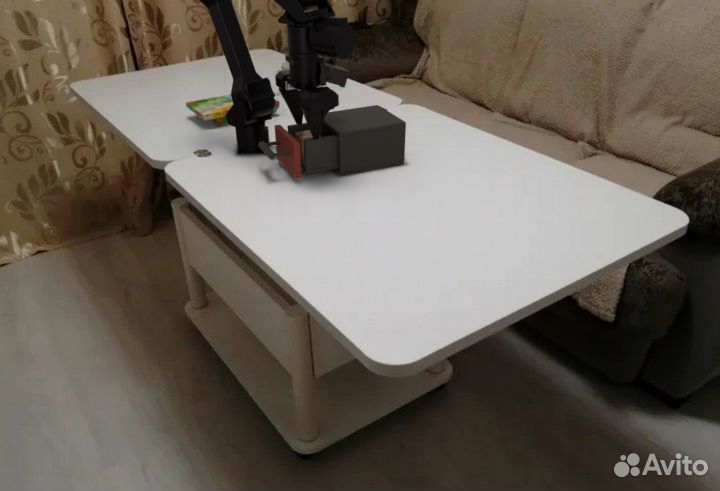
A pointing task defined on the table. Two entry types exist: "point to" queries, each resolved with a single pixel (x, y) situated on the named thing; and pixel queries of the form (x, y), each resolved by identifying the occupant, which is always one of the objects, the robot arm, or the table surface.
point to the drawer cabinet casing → (367, 139)
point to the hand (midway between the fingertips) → (307, 131)
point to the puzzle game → (216, 108)
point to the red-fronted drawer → (316, 151)
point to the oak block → (303, 136)
